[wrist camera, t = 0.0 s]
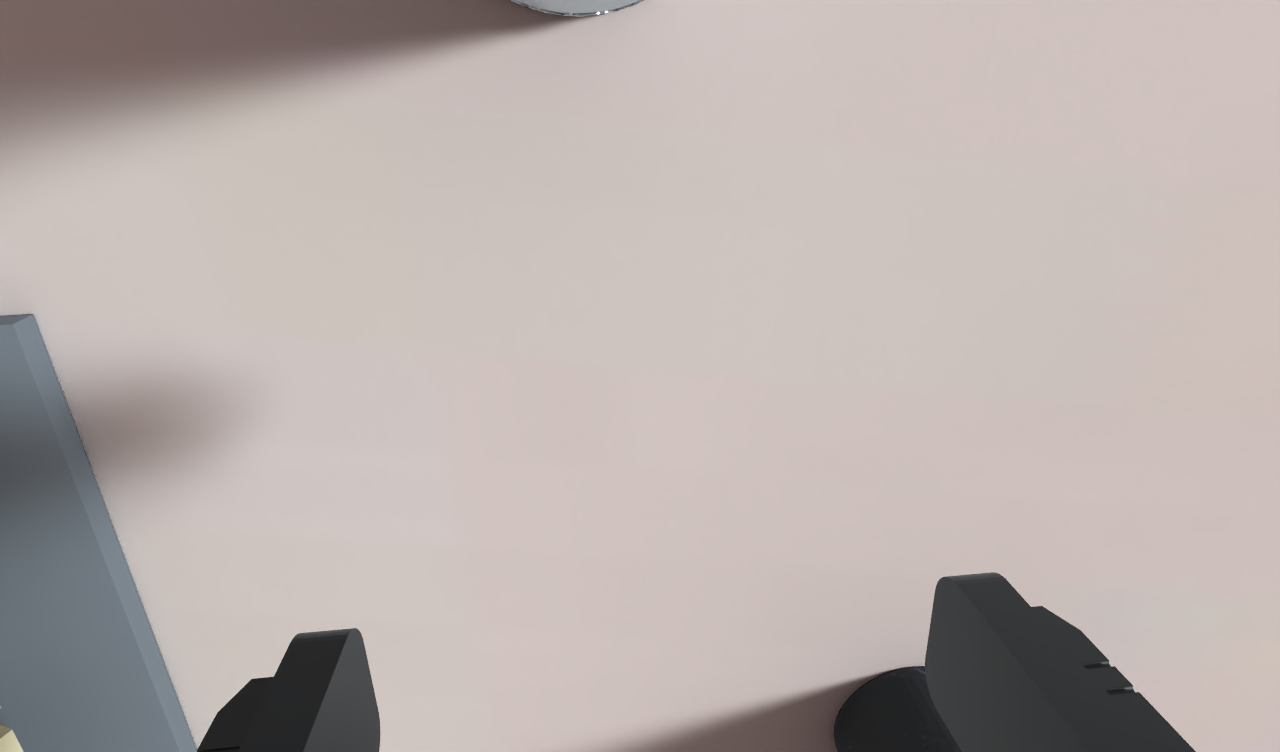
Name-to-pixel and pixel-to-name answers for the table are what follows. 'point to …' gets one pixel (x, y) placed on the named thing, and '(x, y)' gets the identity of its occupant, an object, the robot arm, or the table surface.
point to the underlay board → (68, 583)
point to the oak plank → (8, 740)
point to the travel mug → (893, 717)
